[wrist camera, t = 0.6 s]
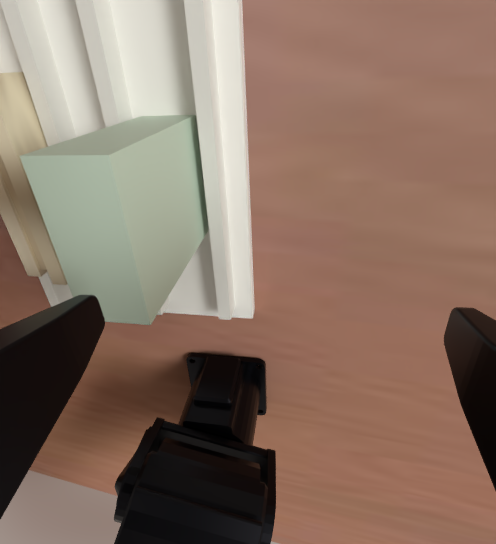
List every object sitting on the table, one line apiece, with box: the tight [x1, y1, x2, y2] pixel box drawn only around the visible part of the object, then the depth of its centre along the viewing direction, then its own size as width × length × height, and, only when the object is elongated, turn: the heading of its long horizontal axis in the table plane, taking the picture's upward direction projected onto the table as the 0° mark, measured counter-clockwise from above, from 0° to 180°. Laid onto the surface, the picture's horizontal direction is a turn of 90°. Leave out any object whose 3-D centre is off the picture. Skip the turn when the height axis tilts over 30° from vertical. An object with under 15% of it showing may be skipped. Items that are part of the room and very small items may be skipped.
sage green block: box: [20, 115, 209, 325], centre depth 16 cm, size 6×3×9 cm, turn 2°
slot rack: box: [0, 0, 255, 320], centre depth 20 cm, size 20×15×2 cm
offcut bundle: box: [0, 72, 68, 285], centre depth 19 cm, size 11×3×4 cm, turn 2°
